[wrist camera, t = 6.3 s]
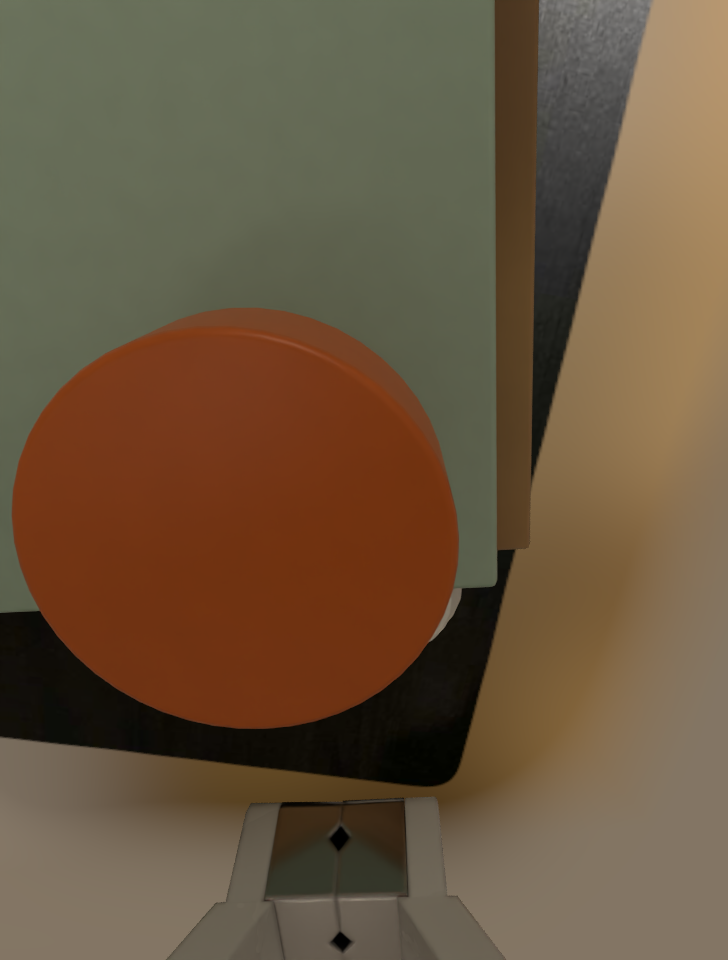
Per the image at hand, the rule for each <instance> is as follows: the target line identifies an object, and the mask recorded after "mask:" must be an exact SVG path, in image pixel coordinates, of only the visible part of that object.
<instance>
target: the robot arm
mask: <svg viewBox="0 0 728 960" xmlns="http://www.w3.org/2000/svg"><path fill="white" fill-rule="evenodd" d="M405 819H406V820H405ZM166 960H506V959H505V957H504V956H503V955H502V953H501V952H500V951H499V950H498V948H497V947H496V946H495V944H494V943H493V942H492V940H491V939H490V938H489V937H488V936H487V934H486V933H485V931H484V930H483V929H482V927H481V926H480V925H479V924H478V922H477V921H476V920H475V918H474V917H473V916H472V914H471V913H470V912H469V911H468V909H467V908H466V907H465V905H464V904H463V903H462V902H461V900H460V899H459V898H458V896H447V887H446V877H445V868H444V859H443V848H442V838H441V829H440V819H439V809H438V802H437V799H436V797H422V798H405V806H404V798H390V799H370V800H349V801H343V802H282V803H251V804H250V806H249V808H248V810H247V812H246V815H245V819H244V823H243V828H242V832H241V837H240V841H239V845H238V850H237V854H236V859H235V863H234V867H233V872H232V876H231V880H230V885H229V889H228V894H227V898H226V902H223V903H222V902H221V903H215V904H214V906H213V907H212V908H211V909H210V910H209V911H208V913H207V914H206V915H205V916H204V917H203V918H202V919H201V920H200V922H199V923H198V924H197V925H196V926H195V927H194V928H193V930H192V931H191V932H190V933H189V934H188V935H187V936H186V938H185V939H184V940H183V941H182V942H181V943H180V944H179V946H178V947H177V948H176V949H175V950H174V951H173V953H172V954H171V955H170V956H169V957H168V958H167V959H166Z"/></svg>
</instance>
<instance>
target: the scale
mask: <svg viewBox="0 0 728 960" xmlns="http://www.w3.org/2000/svg"><path fill="white" fill-rule="evenodd" d="M226 308H264V309H272V310H280V311H286V312H290V313H294V314H298V315H302V316H305V317H309V318H312V319H315V320H317V321H320V322H322V323H325V324H327V325H330V326H332V327H335V328H337V329H339V330H340V331H342V332H344V333H346V334H348V335H349V336H351V337H353V338H355V339H356V340H358V341H360V342H361V343H363V344H364V345H365V346H367V347H368V348H369V349H371V350H372V351H373V352H375V353H376V354H377V355H379V356H380V357H381V358H382V359H383V360H384V361H386V362H387V363H388V364H389V365H390V366H391V367H392V368H393V369H394V370H395V371H396V372H397V373H398V374H399V375H400V376H401V377H402V379H403V380H404V381H405V383H406V384H407V385H408V386H409V388H410V389H411V390H412V392H413V393H414V394H415V395H416V397H417V398H418V400H419V402H420V403H421V405H422V407H423V409H424V410H425V412H426V414H427V416H428V417H429V419H430V421H431V424H432V426H433V429H434V431H435V434H436V436H437V439H438V441H439V444H440V448H441V452H442V456H443V460H444V464H445V468H446V472H447V476H448V480H449V484H450V488H451V492H452V496H453V500H454V504H455V508H456V513H457V523H458V532H459V553H458V567H457V572H456V577H455V583H454V588H453V589H456V588H475V587H491V586H494V585H495V583H496V581H497V446H496V193H495V0H0V613H4V612H23V611H40V610H39V608H38V606H37V604H36V602H35V600H34V599H33V597H32V595H31V593H30V591H29V588H28V586H27V583H26V581H25V578H24V576H23V573H22V570H21V568H20V564H19V560H18V556H17V552H16V548H15V543H14V536H13V525H12V498H13V487H14V482H15V477H16V472H17V467H18V462H19V459H20V456H21V453H22V451H23V448H24V446H25V443H26V440H27V438H28V435H29V433H30V431H31V430H32V428H33V426H34V424H35V423H36V421H37V419H38V417H39V415H40V414H41V412H42V410H43V409H44V408H45V407H46V405H47V404H48V403H49V402H50V400H51V399H52V398H53V397H54V395H55V394H56V393H57V392H58V390H59V389H60V388H61V387H62V386H63V385H65V384H66V383H67V382H68V381H69V380H70V379H71V378H72V377H73V376H74V375H76V374H77V373H78V372H79V371H80V370H81V369H82V368H84V367H85V366H87V365H89V364H90V363H92V362H93V361H95V360H96V359H98V358H99V357H101V356H102V355H104V354H105V353H107V352H109V351H111V350H113V349H115V348H118V347H120V346H122V345H124V344H126V343H128V342H130V341H133V340H135V339H137V338H139V337H141V336H143V335H145V334H148V333H150V332H152V331H154V330H156V329H158V328H160V327H163V326H165V325H167V324H169V323H171V322H173V321H176V320H178V319H181V318H184V317H188V316H191V315H195V314H198V313H201V312H206V311H213V310H220V309H226Z"/></svg>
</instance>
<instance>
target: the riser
mask: <svg viewBox="0 0 728 960" xmlns="http://www.w3.org/2000/svg"><path fill="white" fill-rule="evenodd" d="M538 23H539V0H495V193H496V446H497V550H508V549H526V548H528V547H529V544H530V493H531V434H532V376H533V317H534V258H535V199H536V140H537V82H538Z"/></svg>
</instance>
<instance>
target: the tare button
mask: <svg viewBox="0 0 728 960" xmlns="http://www.w3.org/2000/svg"><path fill="white" fill-rule="evenodd" d="M12 525H13V536H14V543H15V548H16V552H17V556H18V560H19V564H20V568H21V570H22V573H23V576H24V578H25V581H26V583H27V586H28V588H29V591H30V593H31V595H32V597H33V599H34V600H35V602H36V604H37V606H38V608H39V610H40V611H41V613H42V615H43V616H44V618H45V619H46V621H47V622H48V623H49V625H50V626H51V628H52V629H53V630H54V632H55V633H56V635H57V636H58V637H59V638H60V639H61V641H62V642H63V643H64V644H65V645H66V646H67V647H68V648H69V649H70V651H71V652H72V653H73V654H74V655H75V656H76V657H77V658H78V659H79V660H81V661H82V662H83V663H84V664H85V665H86V666H87V667H88V668H90V669H91V670H92V671H93V672H94V673H95V674H97V675H98V676H100V677H101V678H102V679H104V680H105V681H107V682H108V683H109V684H111V685H112V686H113V687H115V688H116V689H118V690H120V691H122V692H123V693H125V694H127V695H129V696H130V697H132V698H134V699H136V700H137V701H139V702H142V703H144V704H146V705H148V706H151V707H153V708H155V709H157V710H160V711H162V712H165V713H168V714H171V715H174V716H177V717H180V718H183V719H186V720H190V721H194V722H199V723H204V724H208V725H213V726H221V727H230V728H239V729H267V728H278V727H288V726H294V725H299V724H304V723H309V722H314V721H317V720H320V719H323V718H326V717H329V716H332V715H335V714H338V713H341V712H343V711H345V710H347V709H349V708H351V707H354V706H356V705H358V704H360V703H362V702H364V701H365V700H367V699H368V698H370V697H372V696H373V695H375V694H377V693H378V692H380V691H381V690H383V689H384V688H385V687H386V686H388V685H389V684H390V683H391V682H393V681H394V680H395V679H396V678H398V677H399V676H400V675H401V674H402V673H403V672H404V671H405V670H406V669H407V668H408V667H409V666H410V665H411V664H412V663H413V661H414V660H415V659H416V658H417V657H418V656H419V654H420V653H421V652H422V650H423V649H424V647H425V646H426V645H427V643H428V642H429V641H430V639H431V638H432V636H433V635H434V633H435V631H436V629H437V627H438V625H439V623H440V621H441V620H442V618H443V616H444V614H445V611H446V608H447V606H448V603H449V600H450V597H451V594H452V591H453V588H454V583H455V577H456V572H457V567H458V553H459V532H458V523H457V513H456V508H455V504H454V500H453V496H452V492H451V488H450V484H449V480H448V476H447V472H446V468H445V464H444V460H443V456H442V452H441V448H440V444H439V441H438V439H437V436H436V434H435V431H434V429H433V426H432V424H431V421H430V419H429V417H428V416H427V414H426V412H425V410H424V409H423V407H422V405H421V403H420V402H419V400H418V398H417V397H416V395H415V394H414V393H413V392H412V390H411V389H410V388H409V386H408V385H407V384H406V383H405V381H404V380H403V379H402V377H401V376H400V375H399V374H398V373H397V372H396V371H395V370H394V369H393V368H392V367H391V366H390V365H389V364H388V363H387V362H386V361H384V360H383V359H382V358H381V357H380V356H379V355H377V354H376V353H375V352H373V351H372V350H371V349H369V348H368V347H367V346H365V345H364V344H363V343H361V342H360V341H358V340H356V339H355V338H353V337H351V336H349V335H348V334H346V333H344V332H342V331H340V330H339V329H337V328H335V327H332V326H330V325H327V324H325V323H322V322H320V321H317V320H315V319H312V318H309V317H305V316H302V315H298V314H294V313H290V312H286V311H280V310H272V309H264V308H226V309H220V310H213V311H206V312H201V313H198V314H195V315H191V316H188V317H184V318H181V319H178V320H176V321H173V322H171V323H169V324H167V325H165V326H163V327H160V328H158V329H156V330H154V331H152V332H150V333H148V334H145V335H143V336H141V337H139V338H137V339H135V340H133V341H130V342H128V343H126V344H124V345H122V346H120V347H118V348H115V349H113V350H111V351H109V352H107V353H105V354H104V355H102V356H101V357H99V358H98V359H96V360H95V361H93V362H92V363H90V364H89V365H87V366H85V367H84V368H82V369H81V370H80V371H79V372H78V373H77V374H76V375H74V376H73V377H72V378H71V379H70V380H69V381H68V382H67V383H66V384H65V385H63V386H62V387H61V388H60V389H59V390H58V392H57V393H56V394H55V395H54V397H53V398H52V399H51V400H50V402H49V403H48V404H47V405H46V407H45V408H44V409H43V410H42V412H41V414H40V415H39V417H38V419H37V421H36V423H35V424H34V426H33V428H32V430H31V431H30V433H29V435H28V438H27V440H26V443H25V446H24V448H23V451H22V453H21V456H20V459H19V462H18V467H17V472H16V477H15V482H14V487H13V498H12Z"/></svg>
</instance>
